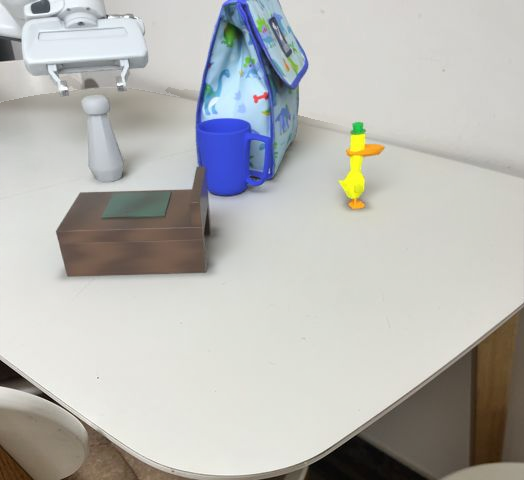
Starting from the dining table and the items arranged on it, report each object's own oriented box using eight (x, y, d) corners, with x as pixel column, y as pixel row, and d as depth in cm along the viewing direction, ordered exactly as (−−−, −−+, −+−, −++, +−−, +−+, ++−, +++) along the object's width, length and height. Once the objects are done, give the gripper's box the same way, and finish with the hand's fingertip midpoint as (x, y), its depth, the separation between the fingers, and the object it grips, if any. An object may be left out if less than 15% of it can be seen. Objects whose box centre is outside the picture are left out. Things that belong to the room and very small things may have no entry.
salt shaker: (102, 186, 93) (86, 102, 86) (85, 178, 97) (68, 96, 89) (132, 177, 97) (119, 96, 89) (115, 169, 100) (101, 90, 92)
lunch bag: (290, 182, 93) (292, -4, 78) (193, 177, 96) (176, -4, 80) (309, 141, 110) (313, -18, 95) (226, 138, 113) (217, -17, 98)
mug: (257, 207, 85) (256, 139, 79) (191, 194, 90) (185, 129, 84) (283, 189, 91) (283, 124, 85) (219, 177, 96) (215, 115, 90)
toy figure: (373, 198, 87) (381, 116, 80) (383, 207, 84) (392, 123, 77) (331, 204, 86) (336, 121, 78) (341, 213, 83) (346, 128, 76)
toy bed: (67, 276, 70) (49, 206, 64) (89, 233, 79) (74, 169, 74) (206, 272, 70) (199, 202, 64) (211, 230, 79) (205, 166, 74)
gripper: (142, 26, 102) (156, 97, 100) (22, 33, 97) (34, 107, 96) (141, -1, 95) (155, 74, 94) (13, 6, 91) (25, 85, 90)
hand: (93, 91), depth 95 cm, fingers open, 8 cm apart
